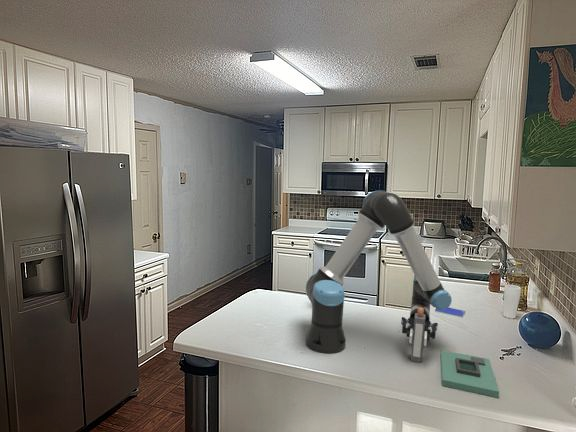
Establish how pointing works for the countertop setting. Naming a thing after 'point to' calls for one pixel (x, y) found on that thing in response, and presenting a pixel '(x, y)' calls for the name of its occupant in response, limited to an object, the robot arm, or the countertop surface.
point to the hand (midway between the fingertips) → (417, 340)
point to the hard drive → (451, 312)
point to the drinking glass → (511, 300)
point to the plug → (418, 335)
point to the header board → (468, 373)
